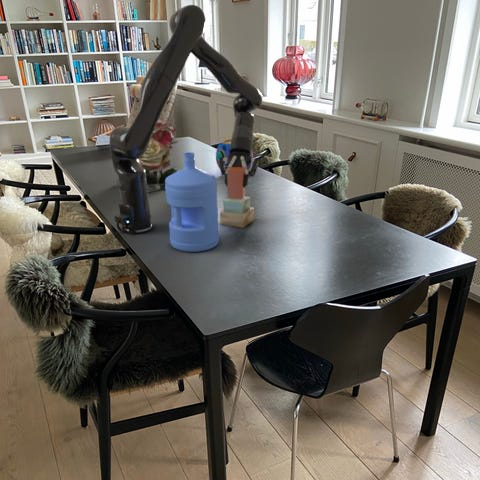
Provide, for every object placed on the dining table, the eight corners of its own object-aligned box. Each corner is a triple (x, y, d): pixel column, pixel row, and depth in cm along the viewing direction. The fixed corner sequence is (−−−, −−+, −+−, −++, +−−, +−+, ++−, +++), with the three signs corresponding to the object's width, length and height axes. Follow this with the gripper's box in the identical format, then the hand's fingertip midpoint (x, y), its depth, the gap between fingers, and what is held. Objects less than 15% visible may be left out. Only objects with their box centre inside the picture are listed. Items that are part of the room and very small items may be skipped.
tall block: (242, 199, 166) (242, 170, 161) (227, 198, 167) (227, 170, 162) (245, 194, 170) (245, 167, 165) (231, 193, 171) (230, 166, 166)
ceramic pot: (211, 177, 226) (210, 144, 218) (221, 168, 241) (220, 137, 233) (248, 179, 222) (248, 145, 215) (256, 170, 237) (256, 138, 229)
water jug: (194, 231, 166) (188, 146, 151) (229, 241, 157) (226, 152, 143) (160, 245, 155) (150, 154, 141) (195, 257, 147) (189, 162, 132)
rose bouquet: (115, 181, 223) (105, 110, 208) (177, 174, 232) (172, 106, 216) (124, 196, 202) (114, 119, 187) (192, 188, 211) (187, 114, 196)
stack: (243, 227, 168) (242, 203, 164) (220, 224, 172) (219, 200, 167) (253, 219, 175) (254, 196, 171) (231, 216, 178) (231, 193, 174)
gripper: (219, 135, 166) (212, 179, 163) (261, 136, 164) (255, 181, 160) (223, 147, 174) (217, 190, 170) (263, 149, 171) (257, 192, 167)
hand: (235, 185), depth 165 cm, fingers closed on tall block, 5 cm apart
